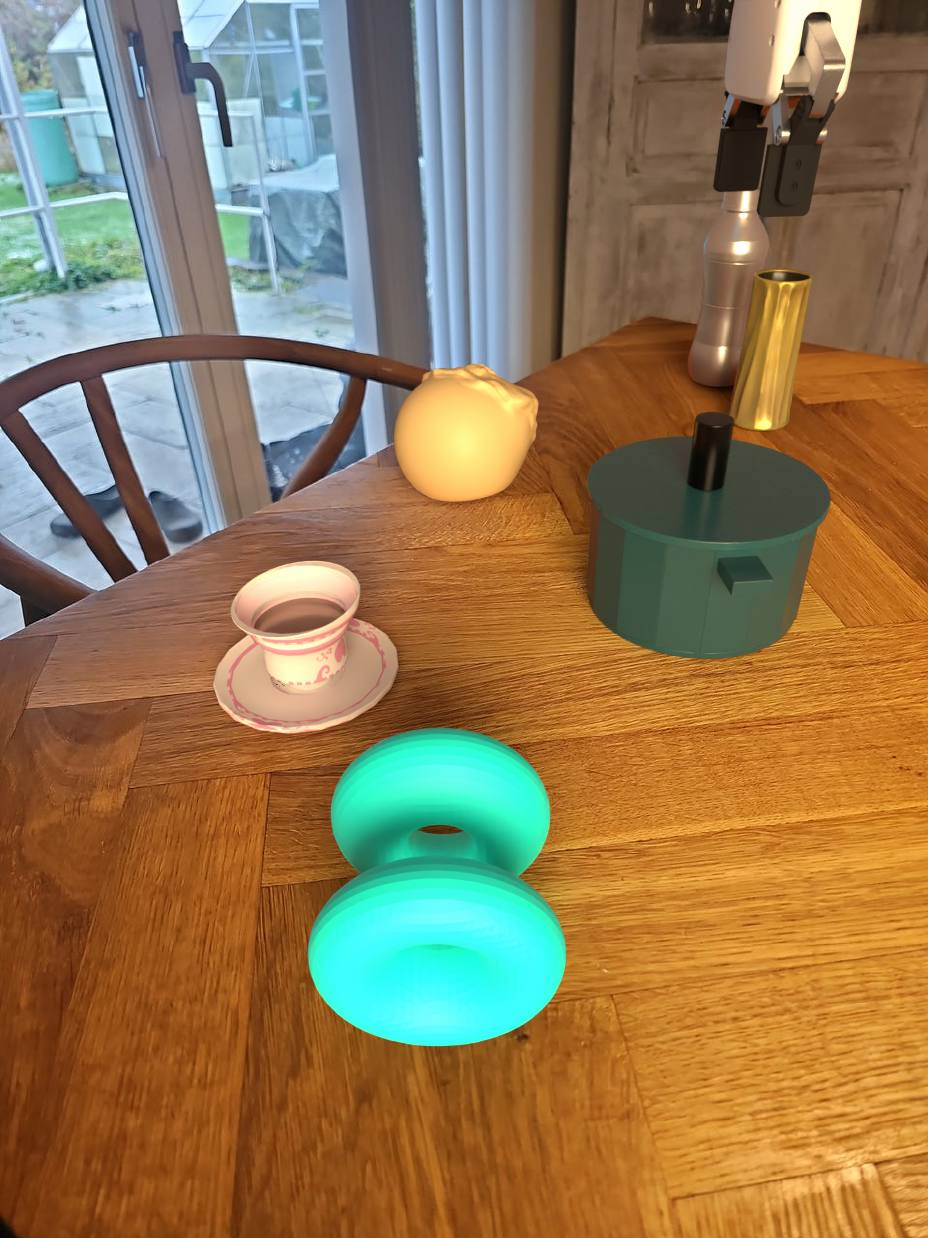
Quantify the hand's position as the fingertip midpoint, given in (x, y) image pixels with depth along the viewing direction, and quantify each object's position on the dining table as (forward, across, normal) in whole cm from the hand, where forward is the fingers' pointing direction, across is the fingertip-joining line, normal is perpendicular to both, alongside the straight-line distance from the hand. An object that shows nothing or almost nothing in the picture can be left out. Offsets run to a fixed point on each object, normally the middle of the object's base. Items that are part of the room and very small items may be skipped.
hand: (756, 202), depth 58 cm
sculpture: (+24, +7, +20) cm, 32 cm away
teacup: (+24, -19, +32) cm, 44 cm away
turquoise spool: (+24, -40, +23) cm, 52 cm away
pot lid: (+15, -12, +5) cm, 20 cm away
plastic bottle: (+24, +30, -9) cm, 39 cm away
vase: (+24, +19, -11) cm, 32 cm away
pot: (+24, -12, +5) cm, 27 cm away
